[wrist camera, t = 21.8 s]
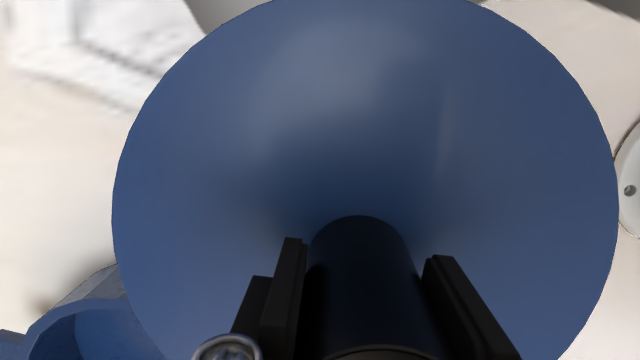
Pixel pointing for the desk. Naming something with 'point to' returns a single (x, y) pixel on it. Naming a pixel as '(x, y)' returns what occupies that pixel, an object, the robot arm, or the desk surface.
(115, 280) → the pot
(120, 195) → the pot lid
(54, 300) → the desk surface
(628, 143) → the robot arm
